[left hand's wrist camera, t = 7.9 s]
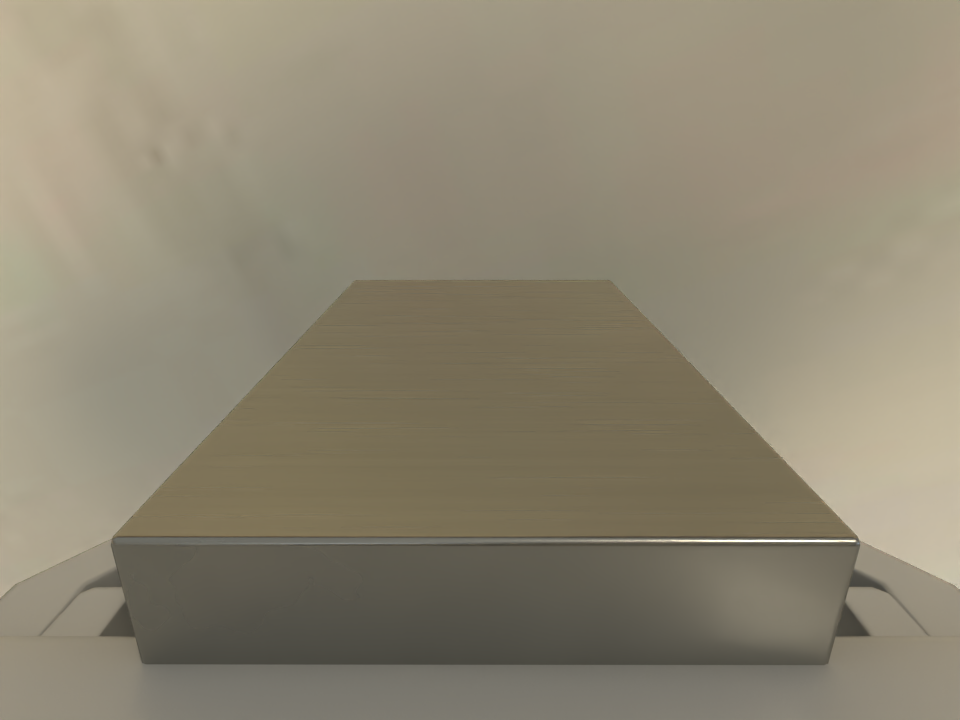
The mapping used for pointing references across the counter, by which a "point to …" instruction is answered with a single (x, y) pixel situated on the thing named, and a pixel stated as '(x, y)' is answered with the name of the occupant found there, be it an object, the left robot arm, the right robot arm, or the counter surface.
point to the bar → (484, 500)
